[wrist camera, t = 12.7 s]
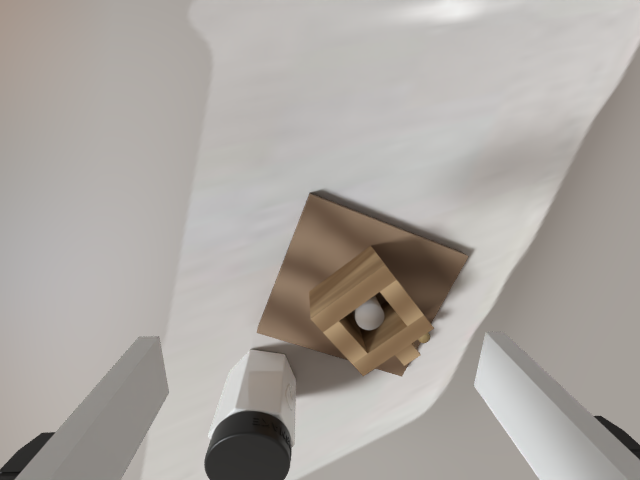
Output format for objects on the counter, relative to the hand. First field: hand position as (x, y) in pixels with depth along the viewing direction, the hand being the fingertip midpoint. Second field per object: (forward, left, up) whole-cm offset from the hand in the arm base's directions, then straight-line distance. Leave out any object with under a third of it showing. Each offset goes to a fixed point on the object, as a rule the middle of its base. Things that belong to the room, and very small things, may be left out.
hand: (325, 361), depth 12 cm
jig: (+5, +9, -23) cm, 25 cm away
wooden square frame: (+7, +11, -22) cm, 25 cm away
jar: (+21, +2, -23) cm, 32 cm away
